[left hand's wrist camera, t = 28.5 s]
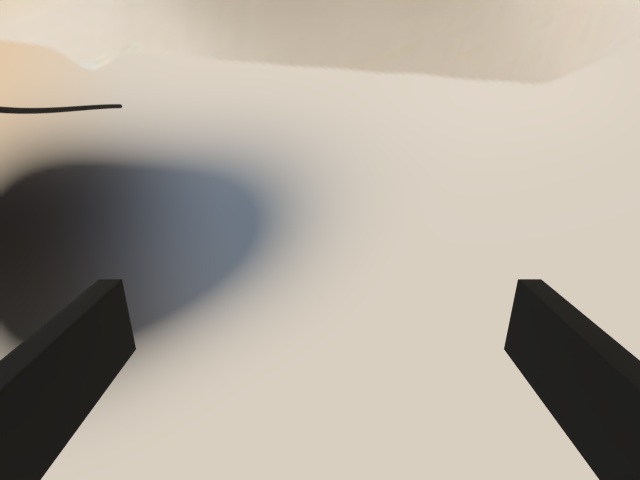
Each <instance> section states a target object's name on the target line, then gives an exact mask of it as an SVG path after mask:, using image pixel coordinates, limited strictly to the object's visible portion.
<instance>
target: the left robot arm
mask: <svg viewBox="0 0 640 480" xmlns="http://www.w3.org/2000/svg"><path fill="white" fill-rule="evenodd" d="M112 108H122V105H121V104H103V105H85V106H70V107H51V108H15V107H1V106H0V113H10V114H41V113H59V112H72V111H84V110H96V109H112ZM135 350H136V347H135V342H134V337H133V332H132V327H131V323H130V317H129V313H128V307H127V302H126V297H125V292H124V287H123V283H122V280H121V279H118V280H117V279H114V280H113V279H101V280H98V281H96V282H95V283H94V284H93V285H91V286H90V287H89V288H88V289H87V290H85V291H84V292H83V293H82V294H81V295H79V296H78V297H77V298H76V299H74V300H73V301H72V302H71V303H70V304H68V305H67V306H66V307H65V308H64V309H62V310H61V311H60V312H59V313H58V314H56V315H55V316H54V317H53V318H51V319H50V320H49V321H48V322H47V323H45V324H44V325H43V326H42V327H41V328H39V329H38V330H37V331H36V332H34V333H33V334H32V335H31V336H30V337H28V338H27V339H26V340H25V341H24V342H22V343H21V344H20V345H19V346H18V347H16V348H15V349H14V350H13V351H11V352H10V353H9V354H8V355H7V356H5V357H4V358H3V359H2V360H0V480H41V478H42V477H43V476H44V474H45V473H46V471H47V470H48V469H49V467H50V466H51V465H52V463H53V462H54V460H55V459H56V458H57V456H58V455H59V454H60V452H61V451H62V450H63V448H64V447H65V446H66V444H67V443H68V441H69V440H70V439H71V437H72V436H73V435H74V433H75V432H76V430H77V429H78V428H79V426H80V425H81V424H82V422H83V421H84V420H85V418H86V417H87V415H88V414H89V413H90V411H91V410H92V409H93V407H94V406H95V404H96V403H97V402H98V400H99V399H100V398H101V396H102V395H103V393H104V392H105V391H106V389H107V388H108V387H109V385H110V384H111V383H112V381H113V380H114V378H115V377H116V376H117V374H118V373H119V372H120V370H121V369H122V367H123V366H124V365H125V363H126V362H127V361H128V359H129V358H130V357H131V355H132V354H133V352H134V351H135ZM504 350H505V351H506V352H507V354H508V355H509V357H510V358H511V359H512V361H513V362H514V363H515V365H516V366H517V368H518V369H519V370H520V372H521V373H522V374H523V376H524V377H525V378H526V380H527V381H528V383H529V384H530V385H531V387H532V388H533V389H534V391H535V392H536V394H537V395H538V396H539V398H540V399H541V400H542V402H543V403H544V404H545V406H546V407H547V408H548V410H549V411H550V413H551V414H552V415H553V417H554V418H555V420H556V421H557V422H558V424H559V425H560V426H561V428H562V429H563V430H564V432H565V433H566V435H567V436H568V437H569V439H570V440H571V441H572V443H573V444H574V445H575V447H576V448H577V450H578V451H579V452H580V454H581V455H582V456H583V458H584V459H585V460H586V462H587V463H588V465H589V466H590V467H591V469H592V470H593V471H594V473H595V474H596V476H597V477H598V478H599V480H640V361H639V360H638V359H637V358H636V357H635V356H633V355H632V354H631V353H630V352H629V351H627V350H626V349H625V348H624V347H623V346H621V345H620V344H619V343H618V342H616V341H615V340H614V339H613V338H612V337H610V336H609V335H608V334H607V333H606V332H604V331H603V330H602V329H601V328H599V327H598V326H597V325H596V324H595V323H593V322H592V321H591V320H590V319H589V318H587V317H586V316H585V315H584V314H582V313H581V312H580V311H579V310H578V309H576V308H575V307H574V306H573V305H571V304H570V303H569V302H568V301H567V300H565V299H564V298H563V297H562V296H561V295H559V294H558V293H557V292H556V291H555V290H553V289H552V288H551V287H550V286H548V285H547V284H546V283H545V282H544V281H542V280H540V279H520V280H518V282H517V288H516V292H515V297H514V302H513V307H512V312H511V317H510V322H509V327H508V332H507V337H506V342H505V347H504Z"/></svg>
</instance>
